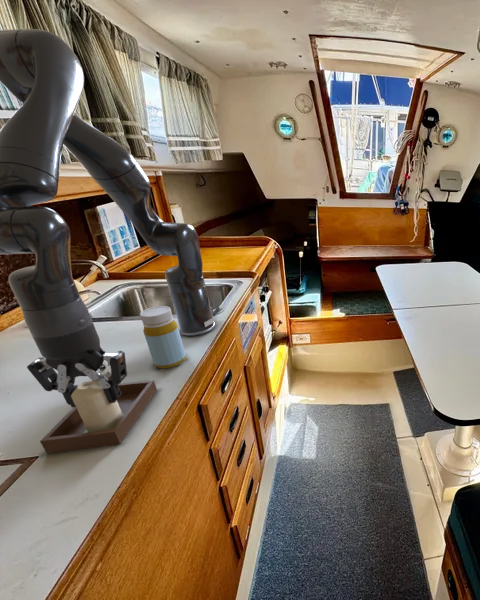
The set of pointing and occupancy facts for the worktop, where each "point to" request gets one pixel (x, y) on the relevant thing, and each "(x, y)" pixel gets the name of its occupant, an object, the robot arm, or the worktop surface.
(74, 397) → the candle
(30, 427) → the worktop surface
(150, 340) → the bottle
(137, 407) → the tray
